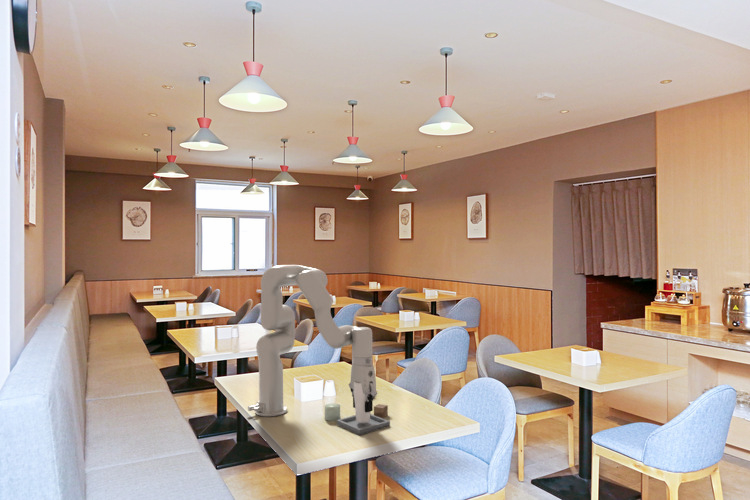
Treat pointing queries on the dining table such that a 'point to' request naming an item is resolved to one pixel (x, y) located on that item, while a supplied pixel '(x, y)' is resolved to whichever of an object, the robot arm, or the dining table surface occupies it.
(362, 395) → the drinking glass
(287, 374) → the dining table surface
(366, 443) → the dining table surface
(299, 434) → the dining table surface
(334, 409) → the pale green rounded cylinder
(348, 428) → the slate tray
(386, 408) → the walnut block
